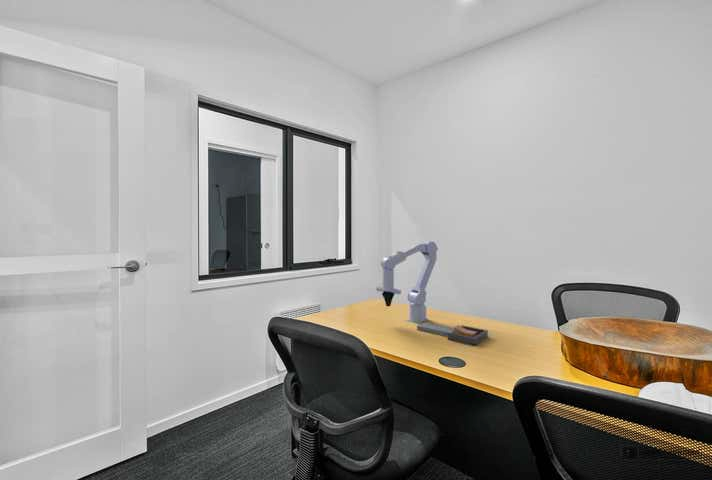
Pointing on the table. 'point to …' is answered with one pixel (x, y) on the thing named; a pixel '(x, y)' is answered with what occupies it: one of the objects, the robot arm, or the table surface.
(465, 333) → the tile front
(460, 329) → the tile back
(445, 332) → the slate plate
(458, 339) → the box
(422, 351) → the table surface
